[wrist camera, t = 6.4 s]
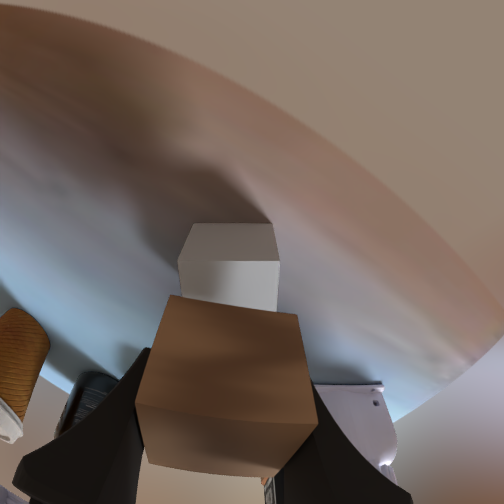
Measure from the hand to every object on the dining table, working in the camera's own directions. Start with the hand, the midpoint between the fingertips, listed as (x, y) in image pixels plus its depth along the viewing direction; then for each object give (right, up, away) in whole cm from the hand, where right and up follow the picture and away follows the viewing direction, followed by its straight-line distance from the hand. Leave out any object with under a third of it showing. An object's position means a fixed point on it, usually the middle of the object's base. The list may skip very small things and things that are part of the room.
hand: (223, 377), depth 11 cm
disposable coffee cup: (-23, -3, +13) cm, 26 cm away
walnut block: (0, +1, +1) cm, 2 cm away
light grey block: (0, +5, +9) cm, 10 cm away
